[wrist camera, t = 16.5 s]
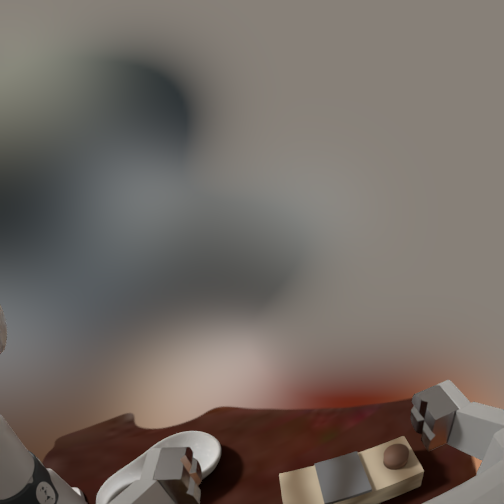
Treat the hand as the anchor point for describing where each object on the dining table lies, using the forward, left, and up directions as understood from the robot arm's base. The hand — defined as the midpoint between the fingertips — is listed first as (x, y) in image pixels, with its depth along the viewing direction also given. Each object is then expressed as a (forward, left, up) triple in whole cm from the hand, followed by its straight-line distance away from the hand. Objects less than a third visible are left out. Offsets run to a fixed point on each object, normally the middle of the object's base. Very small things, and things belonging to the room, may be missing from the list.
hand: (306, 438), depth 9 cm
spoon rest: (-23, +21, -31) cm, 44 cm away
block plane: (+4, +15, -30) cm, 34 cm away
